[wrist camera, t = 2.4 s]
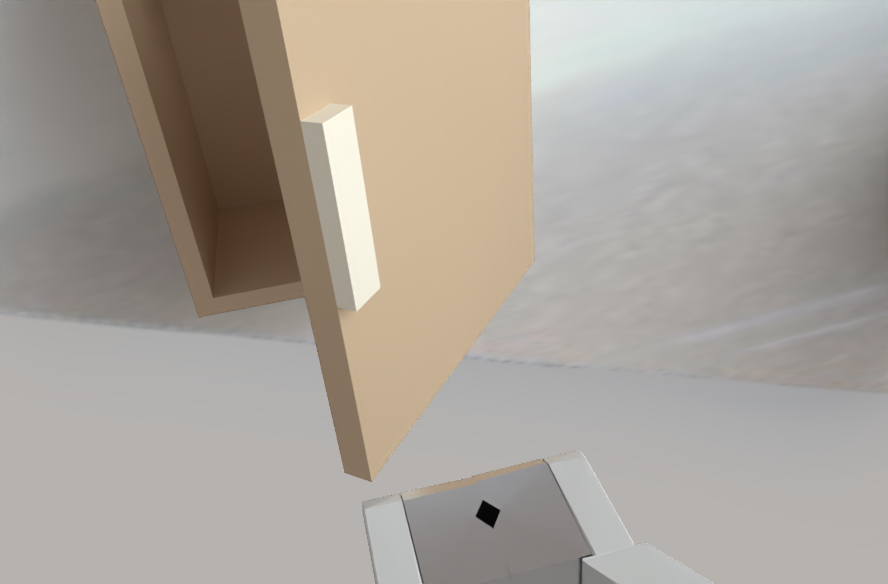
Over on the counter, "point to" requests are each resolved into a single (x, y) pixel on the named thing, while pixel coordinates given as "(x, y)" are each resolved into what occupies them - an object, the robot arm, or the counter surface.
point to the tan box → (206, 147)
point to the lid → (398, 189)
